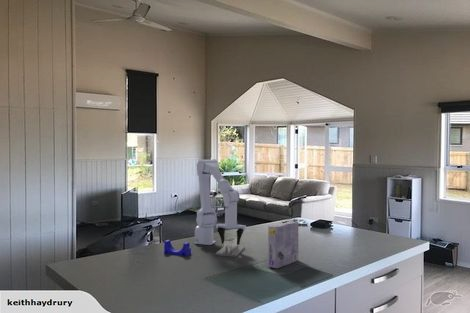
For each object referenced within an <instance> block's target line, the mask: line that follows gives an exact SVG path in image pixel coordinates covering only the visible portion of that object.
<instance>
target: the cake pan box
mask: <svg viewBox="0 0 470 313" xmlns="http://www.w3.org/2000/svg"><path fill="white" fill-rule="evenodd" d="M267 230H268V231H267V232H268V233H267V234H268V240H267V241H268V246H267V252H268V254H267V255H268V257H267V258H268V263H267V264H268V267H270V268H272V269H275V270H277V269H279V268H282V267H285V266H288V265H291V264H292V263H296V262H297V261H299V221H287V222H283V223H277V224H274V225H269V226H268V228H267Z"/></svg>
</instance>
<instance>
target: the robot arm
mask: <svg viewBox="0 0 470 313" xmlns="http://www.w3.org/2000/svg"><path fill="white" fill-rule="evenodd" d="M219 167H220V164H219V162H218V161H217V159H216V158H215V159H199V160H198V161H197V163H196V174H197V176H198V183H199V186H198V187H199V196H200V197H199V198H200V208H199V209H198V210H197V211H196V219H195V221H196V224H197V226H196V227H195V229H194V243H193V244H195V245H206V246H211V245H213V244H215V243H217V241H216V240H214V227H215V229H217V233H218V235H219V237H220V240H221V245H222V244H223V245H224V241H225V240H226V239H225V233H226V229H227V230H228V229H229V230H236V238H237V245H238V246H240V244H241V243H240V242H241V239H242V236H243V233H244V231H245V230H246V229H247V226H246V225H244V224H239V223H238V219H237V218H238V217H237V216H238V202H239V201H240V198H241V197H240V193H239V191H238V190H235V189H234V188H233V187H232V185H231V184H230V182H229V180H227V179H225V178H224V176H223V174H222V173H221V171H220V168H219ZM210 176H212V177H213V178H214V179H215V181H216V182H217V188H218V189H219V191H220V193H221V195H222V201H223V205H224V223H217V222H218V217H217V214H216V210H215V209H214V208H212V203H211V202H212V201H211V188H210Z"/></svg>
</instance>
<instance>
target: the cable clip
mask: <svg viewBox="0 0 470 313" xmlns="http://www.w3.org/2000/svg"><path fill="white" fill-rule="evenodd" d="M163 242H164V244H163V248H164V249H163V252H164V254H165V255H173V256H180V257H188V256H190V255H192V248H191V247H190V242H187V241H186V242H184V243H183V244H182V248H181V249H179V250H177V249H175V248H174V247H173V245H172V243H171V240H170V239H166V240H164V241H163Z"/></svg>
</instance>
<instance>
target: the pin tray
mask: <svg viewBox="0 0 470 313" xmlns="http://www.w3.org/2000/svg"><path fill="white" fill-rule="evenodd" d="M245 249H246V248H245V246H243V245H237V248H236V249H235V250H234V251H233V252H230V248H228V252H226V248H225V247H224V246H223V247H222V248H220V249H219V250H218V251H216V252H215V256H222V257H231V258H232V257H234V258H235V257H238V256H239V255H240V254H241V252H243V251H244V250H245Z"/></svg>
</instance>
